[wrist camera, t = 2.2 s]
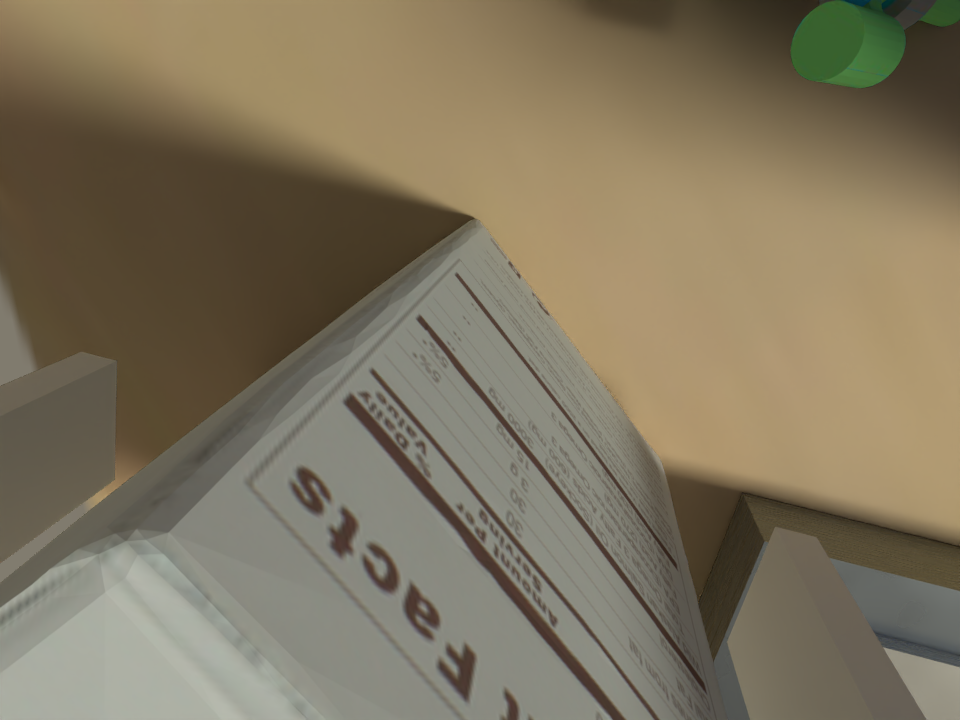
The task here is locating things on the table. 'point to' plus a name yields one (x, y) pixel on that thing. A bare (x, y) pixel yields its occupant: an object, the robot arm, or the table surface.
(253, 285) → the table surface
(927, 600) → the plate
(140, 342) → the table surface
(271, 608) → the supplement box
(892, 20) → the gear
